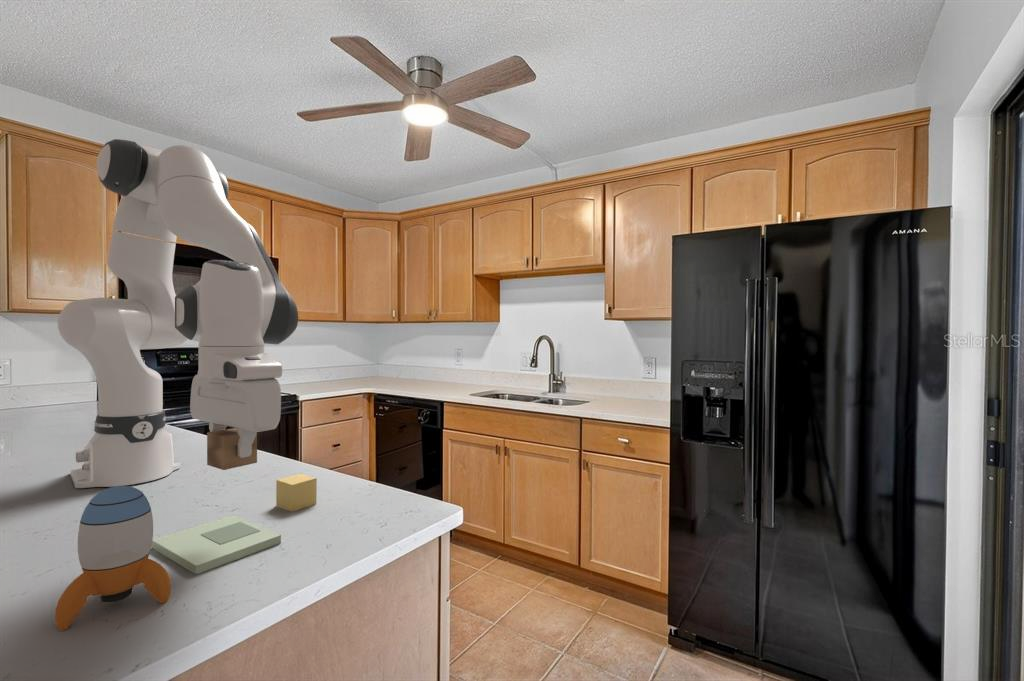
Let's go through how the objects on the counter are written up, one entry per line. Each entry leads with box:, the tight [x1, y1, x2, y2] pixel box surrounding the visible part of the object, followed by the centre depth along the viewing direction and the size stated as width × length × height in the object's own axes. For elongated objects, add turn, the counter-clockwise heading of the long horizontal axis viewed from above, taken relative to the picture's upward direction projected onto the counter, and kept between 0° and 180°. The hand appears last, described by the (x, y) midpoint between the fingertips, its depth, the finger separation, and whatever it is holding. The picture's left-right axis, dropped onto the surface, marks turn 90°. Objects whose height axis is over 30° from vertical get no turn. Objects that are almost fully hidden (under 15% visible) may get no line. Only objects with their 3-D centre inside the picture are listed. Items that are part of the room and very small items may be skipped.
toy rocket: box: [54, 485, 172, 632], centre depth 58 cm, size 10×11×15 cm
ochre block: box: [275, 473, 317, 513], centre depth 91 cm, size 5×5×5 cm
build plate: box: [151, 514, 282, 575], centre depth 74 cm, size 14×12×1 cm
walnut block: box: [206, 427, 258, 471], centre depth 75 cm, size 5×5×5 cm
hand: (232, 453), depth 75 cm, fingers closed on walnut block, 5 cm apart
